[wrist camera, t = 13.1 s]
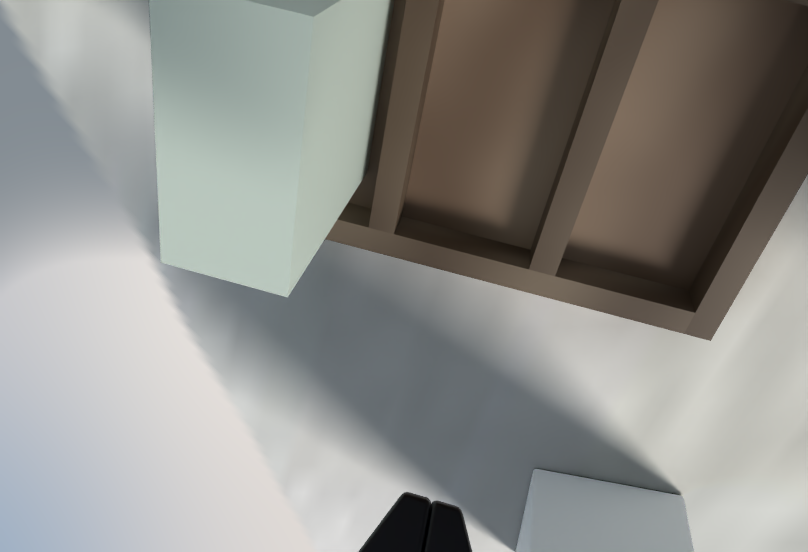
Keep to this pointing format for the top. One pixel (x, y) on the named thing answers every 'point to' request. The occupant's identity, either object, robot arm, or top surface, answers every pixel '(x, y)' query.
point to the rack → (589, 148)
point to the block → (261, 129)
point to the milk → (600, 517)
